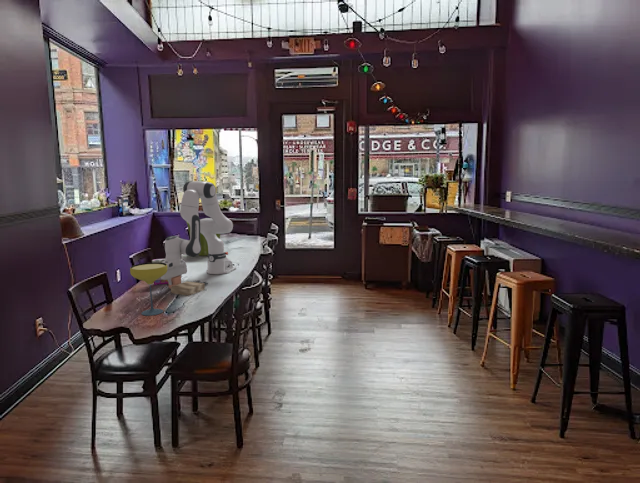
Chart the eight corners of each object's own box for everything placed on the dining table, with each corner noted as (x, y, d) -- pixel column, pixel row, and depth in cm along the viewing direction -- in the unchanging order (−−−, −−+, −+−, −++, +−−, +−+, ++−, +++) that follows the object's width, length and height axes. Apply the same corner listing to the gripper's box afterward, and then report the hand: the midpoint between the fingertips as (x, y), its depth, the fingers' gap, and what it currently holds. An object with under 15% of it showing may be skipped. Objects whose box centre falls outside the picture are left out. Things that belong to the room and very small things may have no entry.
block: (174, 286, 288) (174, 275, 287) (181, 286, 286) (180, 276, 285) (168, 288, 283) (167, 277, 282) (175, 289, 281) (174, 278, 280)
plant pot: (188, 252, 402) (186, 220, 397) (222, 249, 411) (220, 218, 406) (189, 258, 374) (186, 224, 369) (225, 256, 383) (223, 222, 378)
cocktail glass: (174, 306, 245) (171, 261, 241) (164, 317, 227) (160, 269, 223) (141, 307, 245) (137, 262, 241) (128, 318, 227) (124, 270, 223)
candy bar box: (172, 282, 298) (170, 257, 295) (171, 284, 293) (170, 259, 290) (154, 283, 295) (152, 259, 292) (153, 285, 290) (151, 260, 287)
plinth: (187, 287, 284) (186, 280, 284) (204, 289, 278) (204, 282, 278) (171, 293, 272) (170, 286, 271) (189, 295, 266) (189, 288, 265)
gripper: (181, 258, 292) (182, 279, 295) (157, 264, 274) (159, 286, 276) (188, 259, 290) (190, 280, 292) (165, 265, 271) (167, 287, 274)
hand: (174, 283), depth 284 cm, fingers closed on block, 5 cm apart
